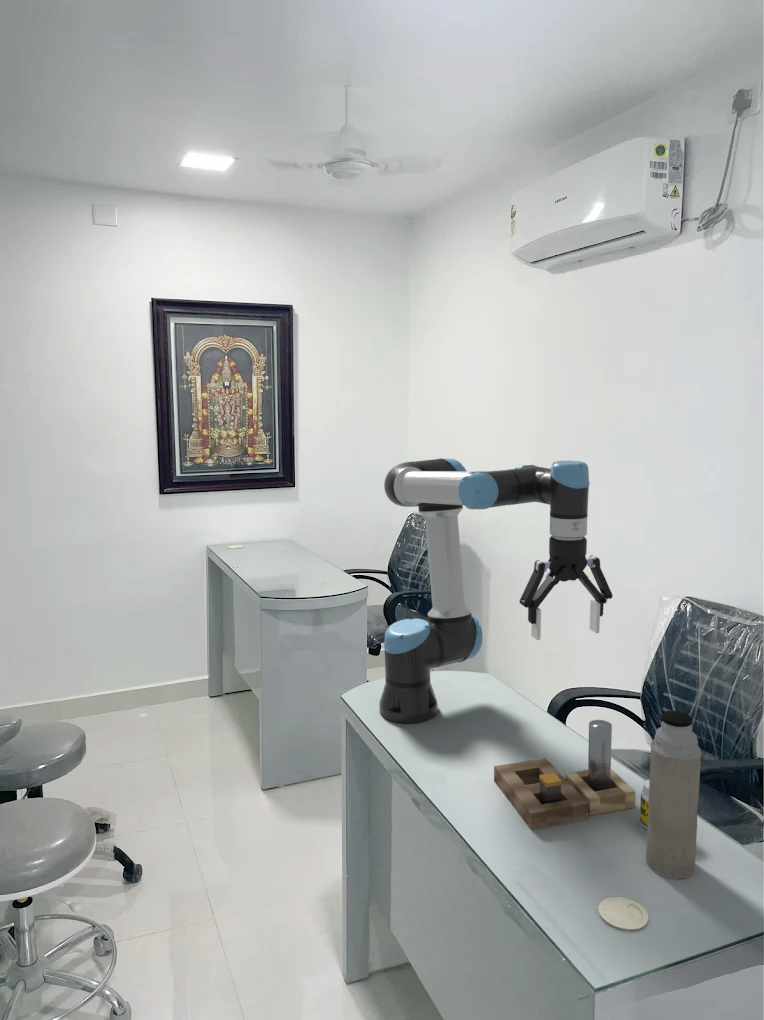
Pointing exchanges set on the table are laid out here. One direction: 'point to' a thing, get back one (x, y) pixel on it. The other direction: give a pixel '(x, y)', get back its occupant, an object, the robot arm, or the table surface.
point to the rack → (603, 793)
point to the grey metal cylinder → (599, 755)
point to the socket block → (538, 794)
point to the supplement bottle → (644, 805)
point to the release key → (550, 788)
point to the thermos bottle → (673, 797)
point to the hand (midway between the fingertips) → (565, 634)
